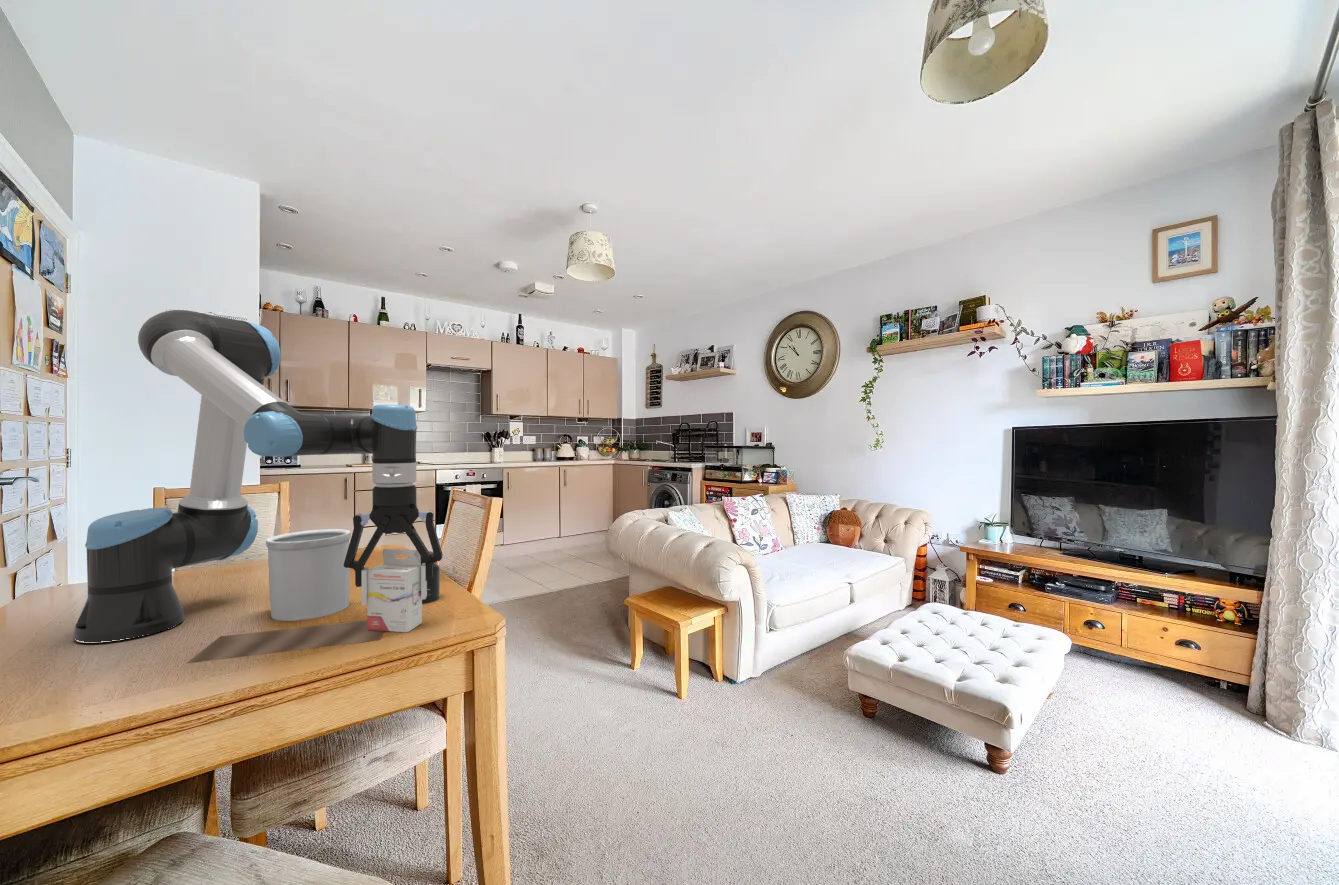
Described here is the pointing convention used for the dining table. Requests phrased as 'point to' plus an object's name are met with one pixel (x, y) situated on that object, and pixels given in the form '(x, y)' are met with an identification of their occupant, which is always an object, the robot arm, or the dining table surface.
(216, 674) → the dining table surface
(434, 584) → the supplement bottle
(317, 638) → the walnut board
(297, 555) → the utensil holder
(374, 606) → the ink cartridge box
